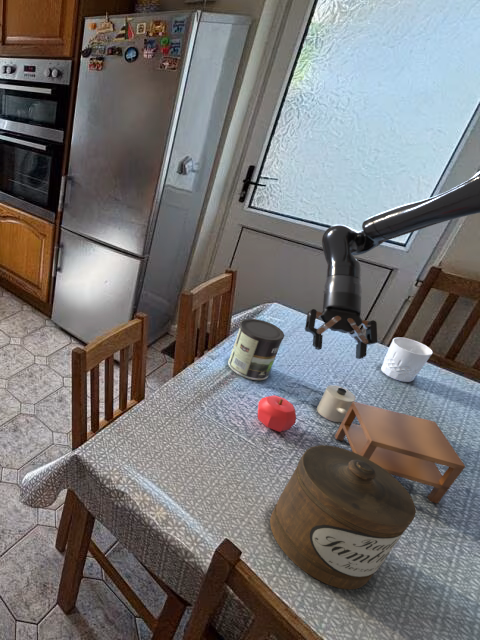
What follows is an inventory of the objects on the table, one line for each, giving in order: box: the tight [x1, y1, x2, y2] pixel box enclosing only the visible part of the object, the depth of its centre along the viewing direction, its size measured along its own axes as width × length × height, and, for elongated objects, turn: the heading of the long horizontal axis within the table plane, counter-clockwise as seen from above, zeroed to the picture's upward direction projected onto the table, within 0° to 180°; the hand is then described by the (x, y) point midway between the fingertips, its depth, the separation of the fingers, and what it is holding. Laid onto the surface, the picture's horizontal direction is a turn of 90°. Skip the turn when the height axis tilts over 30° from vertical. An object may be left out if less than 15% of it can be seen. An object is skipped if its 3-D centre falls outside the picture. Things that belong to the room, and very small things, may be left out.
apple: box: [257, 394, 297, 433], centre depth 101 cm, size 8×8×8 cm
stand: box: [334, 401, 466, 504], centre depth 89 cm, size 14×12×11 cm
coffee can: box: [227, 318, 285, 381], centre depth 118 cm, size 10×10×14 cm
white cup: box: [380, 336, 434, 383], centre depth 115 cm, size 8×8×10 cm
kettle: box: [316, 384, 357, 423], centre depth 102 cm, size 8×6×8 cm
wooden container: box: [269, 444, 417, 590], centre depth 72 cm, size 15×15×22 cm
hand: (338, 353), depth 107 cm, fingers open, 8 cm apart
